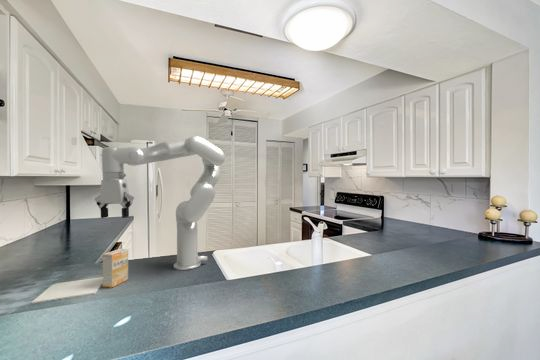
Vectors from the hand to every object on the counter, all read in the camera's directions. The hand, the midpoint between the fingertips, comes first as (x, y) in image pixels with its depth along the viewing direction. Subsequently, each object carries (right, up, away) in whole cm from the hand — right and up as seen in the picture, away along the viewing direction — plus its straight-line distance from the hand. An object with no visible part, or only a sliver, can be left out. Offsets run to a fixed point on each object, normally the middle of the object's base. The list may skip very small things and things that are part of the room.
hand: (115, 217), depth 100 cm
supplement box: (+3, -27, -4) cm, 27 cm away
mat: (-10, -26, -9) cm, 30 cm away
